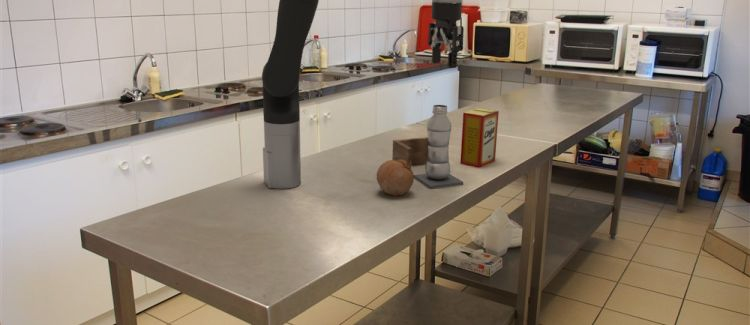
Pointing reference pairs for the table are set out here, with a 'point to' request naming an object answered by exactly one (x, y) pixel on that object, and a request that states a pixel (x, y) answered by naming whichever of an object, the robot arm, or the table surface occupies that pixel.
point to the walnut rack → (411, 150)
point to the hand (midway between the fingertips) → (443, 65)
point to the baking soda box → (479, 137)
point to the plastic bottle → (438, 143)
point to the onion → (395, 177)
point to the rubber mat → (438, 181)
